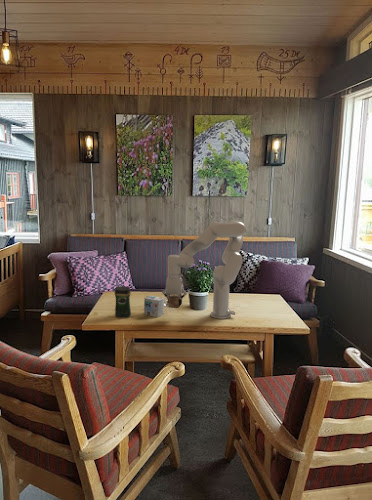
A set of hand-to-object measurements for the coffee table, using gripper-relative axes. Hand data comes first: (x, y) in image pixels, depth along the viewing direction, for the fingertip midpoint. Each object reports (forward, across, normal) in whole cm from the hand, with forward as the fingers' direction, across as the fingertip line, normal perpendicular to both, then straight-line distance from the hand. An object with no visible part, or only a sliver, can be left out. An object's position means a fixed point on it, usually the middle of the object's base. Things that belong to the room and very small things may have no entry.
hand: (174, 304), depth 243 cm
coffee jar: (+8, +32, +5) cm, 33 cm away
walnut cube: (+1, 0, 0) cm, 1 cm away
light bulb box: (+9, +15, -4) cm, 18 cm away
